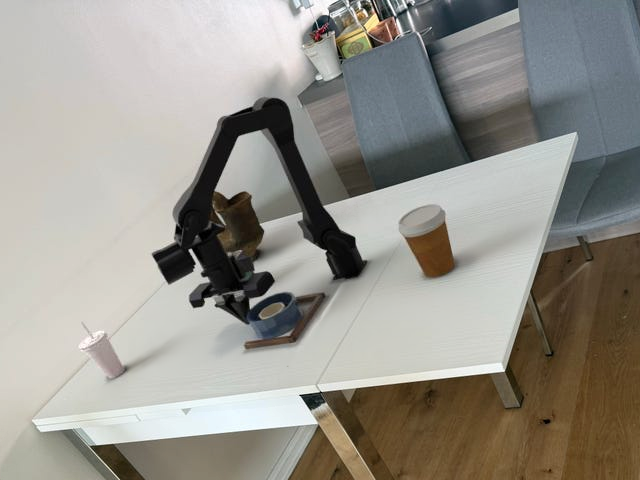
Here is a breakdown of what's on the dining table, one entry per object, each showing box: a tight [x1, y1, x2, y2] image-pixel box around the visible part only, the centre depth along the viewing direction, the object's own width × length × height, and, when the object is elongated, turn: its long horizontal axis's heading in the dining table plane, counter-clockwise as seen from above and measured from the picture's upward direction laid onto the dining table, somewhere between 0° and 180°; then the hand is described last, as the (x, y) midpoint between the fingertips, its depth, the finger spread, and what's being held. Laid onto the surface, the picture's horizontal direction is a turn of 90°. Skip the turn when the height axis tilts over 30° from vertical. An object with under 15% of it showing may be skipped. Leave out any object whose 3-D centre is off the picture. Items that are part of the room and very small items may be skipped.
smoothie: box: [78, 321, 125, 379], centre depth 151 cm, size 6×6×14 cm
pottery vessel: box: [205, 190, 265, 260], centre depth 179 cm, size 25×11×20 cm, turn 56°
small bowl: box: [259, 302, 286, 320], centre depth 141 cm, size 6×6×3 cm
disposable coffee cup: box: [397, 203, 456, 278], centre depth 133 cm, size 10×10×12 cm
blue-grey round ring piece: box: [246, 291, 304, 340], centre depth 141 cm, size 11×11×5 cm
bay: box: [243, 291, 326, 350], centre depth 142 cm, size 12×16×2 cm
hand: (249, 323), depth 145 cm, fingers closed
